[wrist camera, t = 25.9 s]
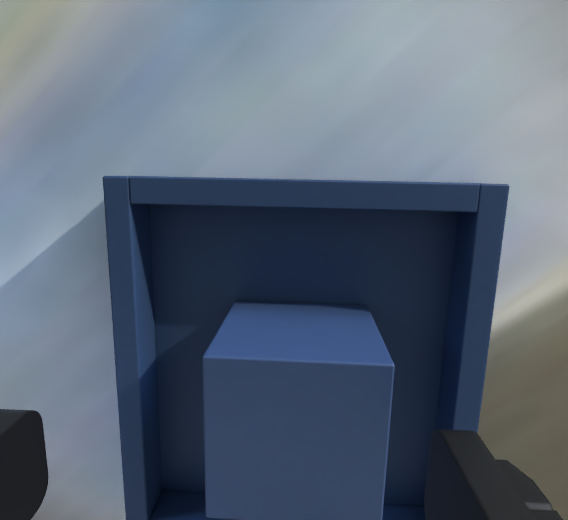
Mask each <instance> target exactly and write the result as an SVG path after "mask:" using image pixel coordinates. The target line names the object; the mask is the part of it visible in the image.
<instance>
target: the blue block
mask: <svg viewBox="0 0 568 520" xmlns="http://www.w3.org/2000/svg"><path fill="white" fill-rule="evenodd" d="M202 358H203V405H204V453H205V500H206V517H207V518H217V519H232V520H382V517H383V504H384V492H385V480H386V468H387V455H388V443H389V431H390V418H391V406H392V394H393V381H394V369H395V366H394V363H393V361H392V359H391V356H390V354H389V352H388V350H387V348H386V346H385V343H384V341H383V339H382V337H381V335H380V332H379V330H378V328H377V326H376V324H375V322H374V319H373V317H372V315H371V313H370V311H369V308H368V306H367V305H351V304H324V303H297V302H270V301H244V300H236V301H235V302H234V304H233V306H232V308H231V309H230V311H229V313H228V314H227V316H226V318H225V319H224V321H223V323H222V325H221V326H220V328H219V330H218V331H217V333H216V335H215V337H214V338H213V340H212V342H211V343H210V345H209V347H208V348H207V350H206V352H205V354H204V355H203V357H202Z"/></svg>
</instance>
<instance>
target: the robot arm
mask: <svg viewBox="0 0 568 520" xmlns="http://www.w3.org/2000/svg"><path fill="white" fill-rule="evenodd" d="M47 485H48V468H47V459H46V450H45V441H44V431H43V422H42V418H41V416H40V414H39V413H38V412H37V411H33V410H10V409H0V520H30V519H31V518H32V517H33V516H34V514H35V513H36V512H37V510H38V509H39V507H40V505H41V503H42V501H43V499H44V496H45V493H46V490H47ZM424 508H425V517H426V520H563V519H562V518H561V516H560V515H559V514H558V513H557V511H553V509H552V505H551V503H550V502H549V501H548V499H547V498H546V497H545V496H544V494H543V493H542V492H541V490H540V489H539V488H538V486H537V485H536V484H535V482H534V481H533V480H532V479H530V478H529V477H528V476H526V475H525V474H524V473H523V472H521V471H520V470H519V469H517V468H516V467H515V466H514V465H512V464H511V463H510V462H508V461H507V460H495V458H494V457H493V456H492V454H491V453H490V451H489V450H488V448H487V447H486V445H485V444H484V443H483V441H482V440H481V438H480V437H479V435H478V434H477V433H476V432H475V431H468V430H445V429H434V430H433V432H432V434H431V438H430V447H429V456H428V466H427V475H426V485H425V494H424Z"/></svg>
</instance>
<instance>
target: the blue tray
mask: <svg viewBox="0 0 568 520" xmlns="http://www.w3.org/2000/svg"><path fill="white" fill-rule="evenodd" d="M103 188H104V203H105V218H106V232H107V247H108V262H109V276H110V291H111V306H112V321H113V335H114V350H115V365H116V379H117V394H118V409H119V423H120V438H121V453H122V467H123V482H124V497H125V512H126V520H232V519H217V518H207V517H206V500H205V453H204V405H203V358H202V357H203V355H204V354H205V352H206V350H207V348H208V347H209V345H210V343H211V342H212V340H213V338H214V337H215V335H216V333H217V331H218V330H219V328H220V326H221V325H222V323H223V321H224V319H225V318H226V316H227V314H228V313H229V311H230V309H231V308H232V306H233V304H234V302H235V301H236V300H244V301H270V302H297V303H324V304H351V305H367V306H368V308H369V311H370V313H371V315H372V317H373V319H374V322H375V324H376V326H377V328H378V330H379V332H380V335H381V337H382V339H383V341H384V343H385V346H386V348H387V350H388V352H389V354H390V356H391V359H392V361H393V363H394V366H395V369H394V381H393V394H392V406H391V418H390V431H389V443H388V455H387V468H386V480H385V492H384V504H383V517H382V520H426V517H425V508H424V494H425V485H426V475H427V466H428V456H429V447H430V438H431V434H432V432H433V430H434V429H445V430H468V431H475V432H476V433H477V432H478V425H479V417H480V409H481V401H482V394H483V386H484V378H485V371H486V363H487V355H488V347H489V340H490V332H491V324H492V316H493V309H494V301H495V293H496V285H497V278H498V270H499V262H500V255H501V247H502V239H503V231H504V224H505V216H506V208H507V200H508V193H509V185H508V184H483V183H439V182H391V181H343V180H295V179H247V178H199V177H151V176H104V177H103Z"/></svg>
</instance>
